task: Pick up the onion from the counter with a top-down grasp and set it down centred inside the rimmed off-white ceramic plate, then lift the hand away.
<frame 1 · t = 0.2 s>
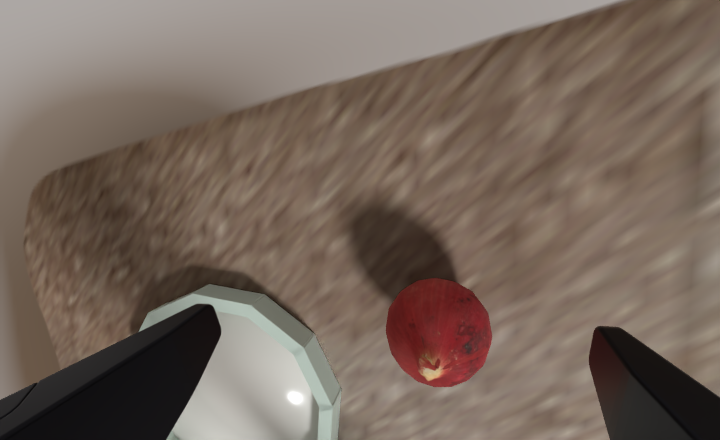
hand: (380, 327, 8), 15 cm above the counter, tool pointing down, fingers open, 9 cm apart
onion: (440, 302, 24), on the counter
plate: (236, 389, 30), on the counter
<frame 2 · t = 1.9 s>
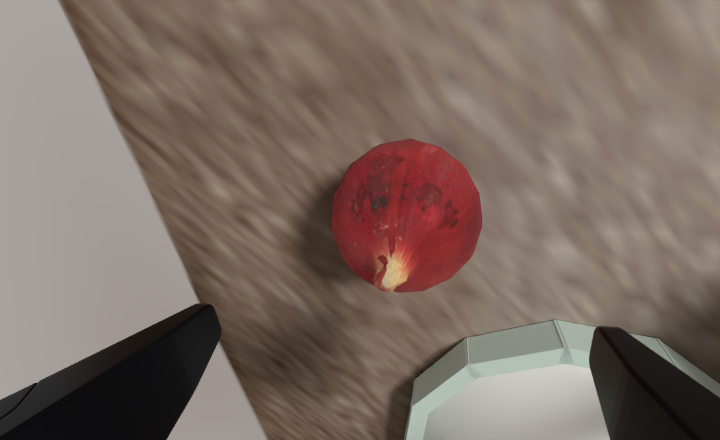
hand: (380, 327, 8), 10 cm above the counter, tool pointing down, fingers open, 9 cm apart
onion: (413, 183, 18), on the counter
plate: (553, 438, 22), on the counter
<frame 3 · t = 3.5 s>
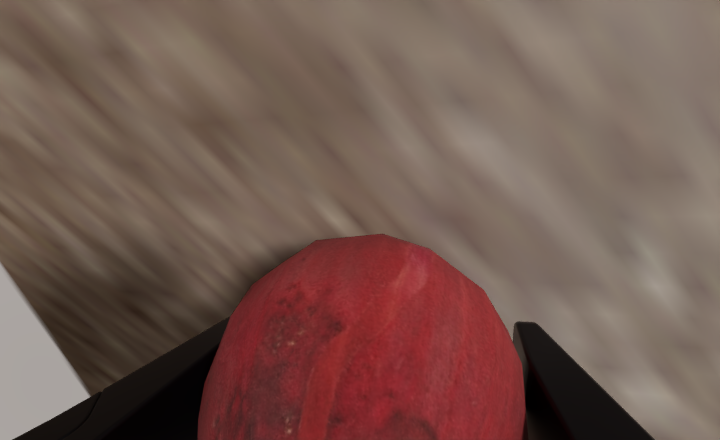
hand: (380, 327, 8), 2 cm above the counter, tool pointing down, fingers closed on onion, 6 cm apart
onion: (393, 275, 10), on the counter, touching gripper
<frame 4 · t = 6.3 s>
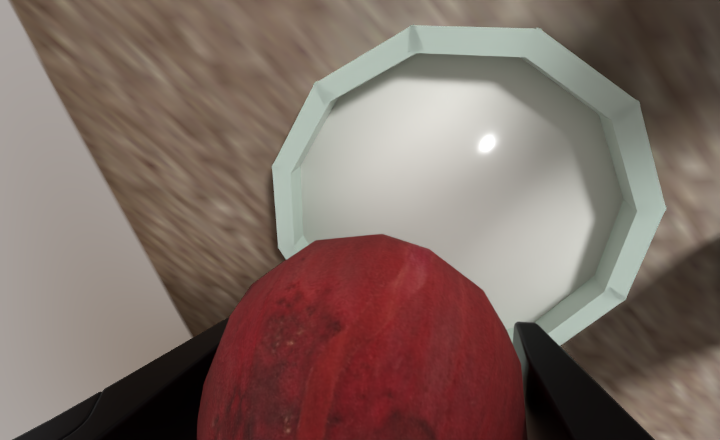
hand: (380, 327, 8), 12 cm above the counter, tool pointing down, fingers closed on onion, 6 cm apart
onion: (392, 275, 10), point 10 cm above the counter, touching gripper
plate: (443, 214, 20), on the counter
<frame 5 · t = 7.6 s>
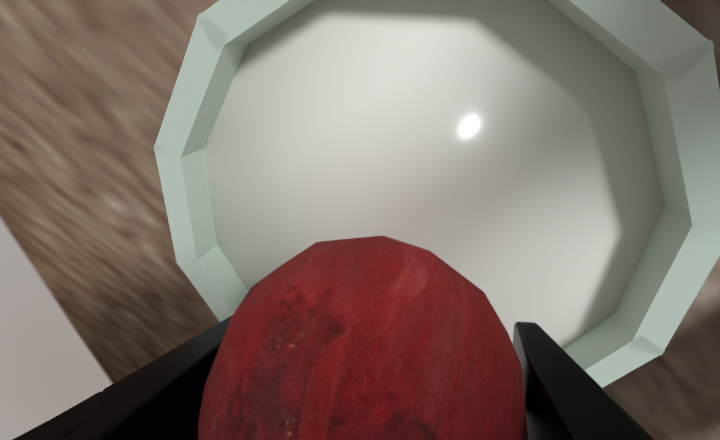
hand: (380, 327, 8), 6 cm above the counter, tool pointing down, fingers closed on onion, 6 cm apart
onion: (393, 276, 10), point 4 cm above the counter, touching gripper
plate: (404, 221, 14), on the counter
when the fingers open (4 cm above the counter, at t = 8.9 s): onion drops 1 cm, resting on plate.
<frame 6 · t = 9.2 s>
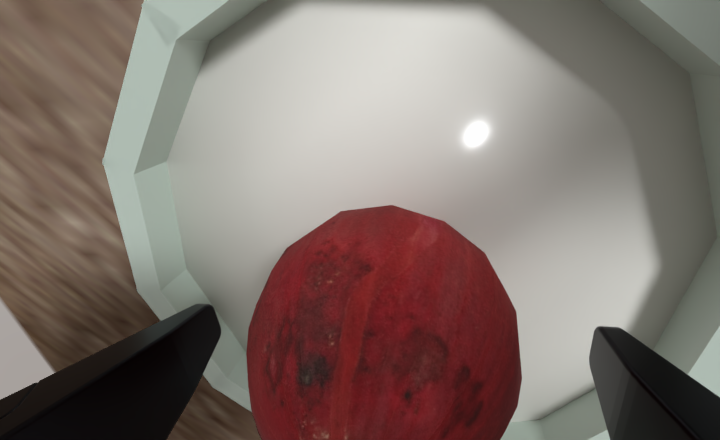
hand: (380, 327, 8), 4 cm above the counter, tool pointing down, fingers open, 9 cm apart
onion: (402, 252, 12), resting on plate
plate: (400, 246, 12), on the counter
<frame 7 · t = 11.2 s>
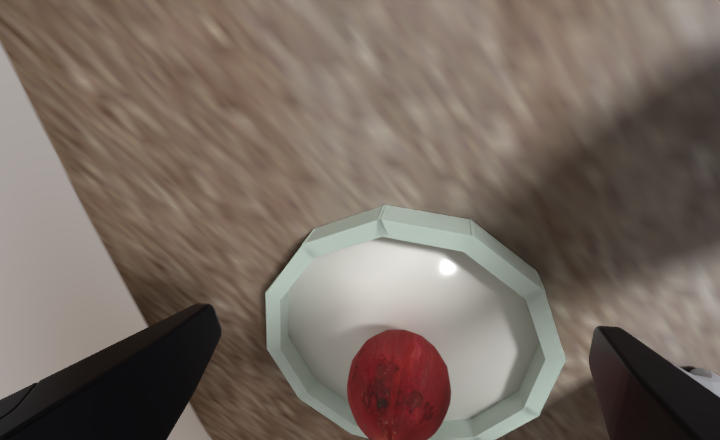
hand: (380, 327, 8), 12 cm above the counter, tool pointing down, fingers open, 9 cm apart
bottle: (663, 389, 22), on the counter
onion: (404, 336, 24), resting on plate
plate: (403, 332, 24), on the counter
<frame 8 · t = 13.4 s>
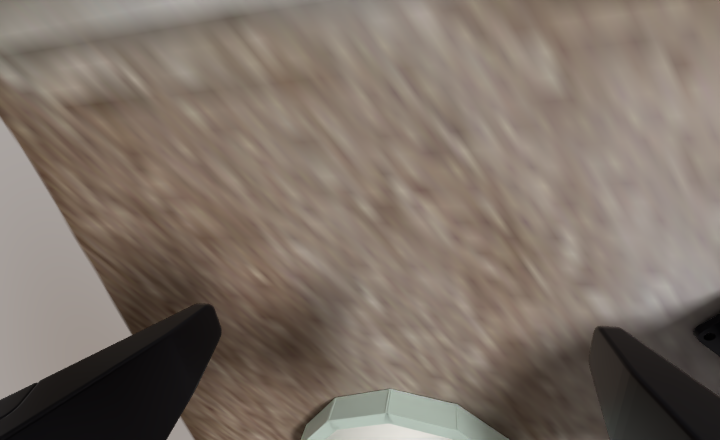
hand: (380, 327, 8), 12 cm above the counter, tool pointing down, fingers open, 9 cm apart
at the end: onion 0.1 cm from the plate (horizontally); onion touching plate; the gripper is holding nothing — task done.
